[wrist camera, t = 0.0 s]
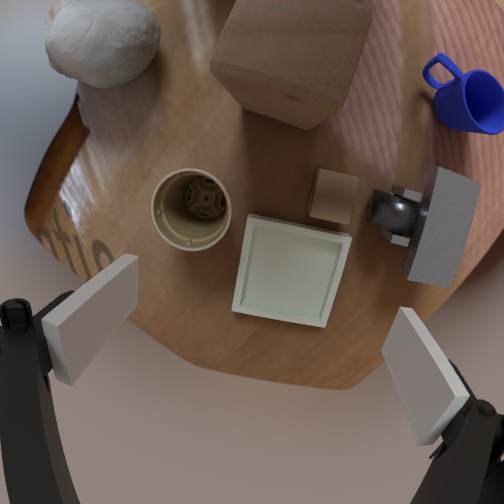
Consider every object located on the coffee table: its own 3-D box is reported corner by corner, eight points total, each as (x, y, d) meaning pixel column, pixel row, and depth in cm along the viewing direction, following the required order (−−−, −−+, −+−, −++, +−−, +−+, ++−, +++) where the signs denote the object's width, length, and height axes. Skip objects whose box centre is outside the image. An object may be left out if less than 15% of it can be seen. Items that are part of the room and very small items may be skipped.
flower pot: (248, 224, 42) (240, 243, 34) (184, 237, 43) (163, 257, 35) (233, 157, 39) (220, 159, 31) (168, 173, 40) (141, 180, 32)
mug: (422, 53, 31) (455, 33, 22) (477, 109, 32) (517, 105, 23) (397, 88, 34) (428, 74, 24) (455, 146, 35) (494, 148, 26)
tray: (249, 213, 41) (247, 216, 39) (348, 233, 41) (352, 238, 39) (233, 303, 46) (231, 310, 44) (323, 320, 46) (324, 327, 43)
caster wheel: (374, 151, 37) (397, 151, 29) (448, 175, 37) (481, 183, 28) (351, 248, 42) (367, 272, 33) (424, 264, 41) (450, 288, 33)
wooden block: (311, 133, 37) (341, 115, 18) (239, 108, 37) (201, 70, 18) (335, 68, 34) (378, 5, 15) (263, 44, 34) (249, -35, 15)
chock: (315, 166, 39) (319, 168, 34) (351, 174, 38) (359, 177, 34) (306, 209, 41) (309, 216, 36) (341, 217, 40) (348, 225, 36)
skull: (91, 11, 32) (44, -19, 18) (186, 27, 35) (160, -14, 21) (61, 79, 36) (4, 70, 22) (151, 102, 39) (109, 91, 25)
